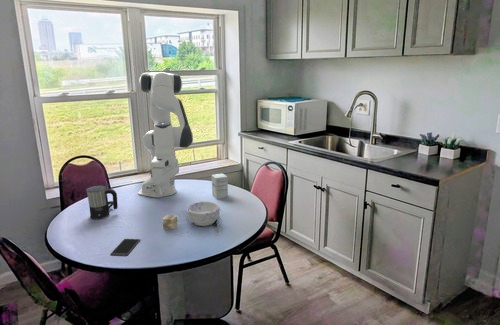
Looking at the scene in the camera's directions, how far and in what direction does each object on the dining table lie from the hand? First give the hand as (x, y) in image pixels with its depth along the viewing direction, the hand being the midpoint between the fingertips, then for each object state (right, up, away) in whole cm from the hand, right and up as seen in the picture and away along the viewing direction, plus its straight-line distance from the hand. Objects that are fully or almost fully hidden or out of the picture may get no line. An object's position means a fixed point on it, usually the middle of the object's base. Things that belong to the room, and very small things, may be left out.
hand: (167, 188), depth 160 cm
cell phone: (-14, -24, -14) cm, 31 cm away
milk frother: (-39, -15, +22) cm, 47 cm away
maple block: (0, -19, +5) cm, 19 cm away
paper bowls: (+15, -17, +10) cm, 25 cm away
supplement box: (+20, -8, +44) cm, 49 cm away
